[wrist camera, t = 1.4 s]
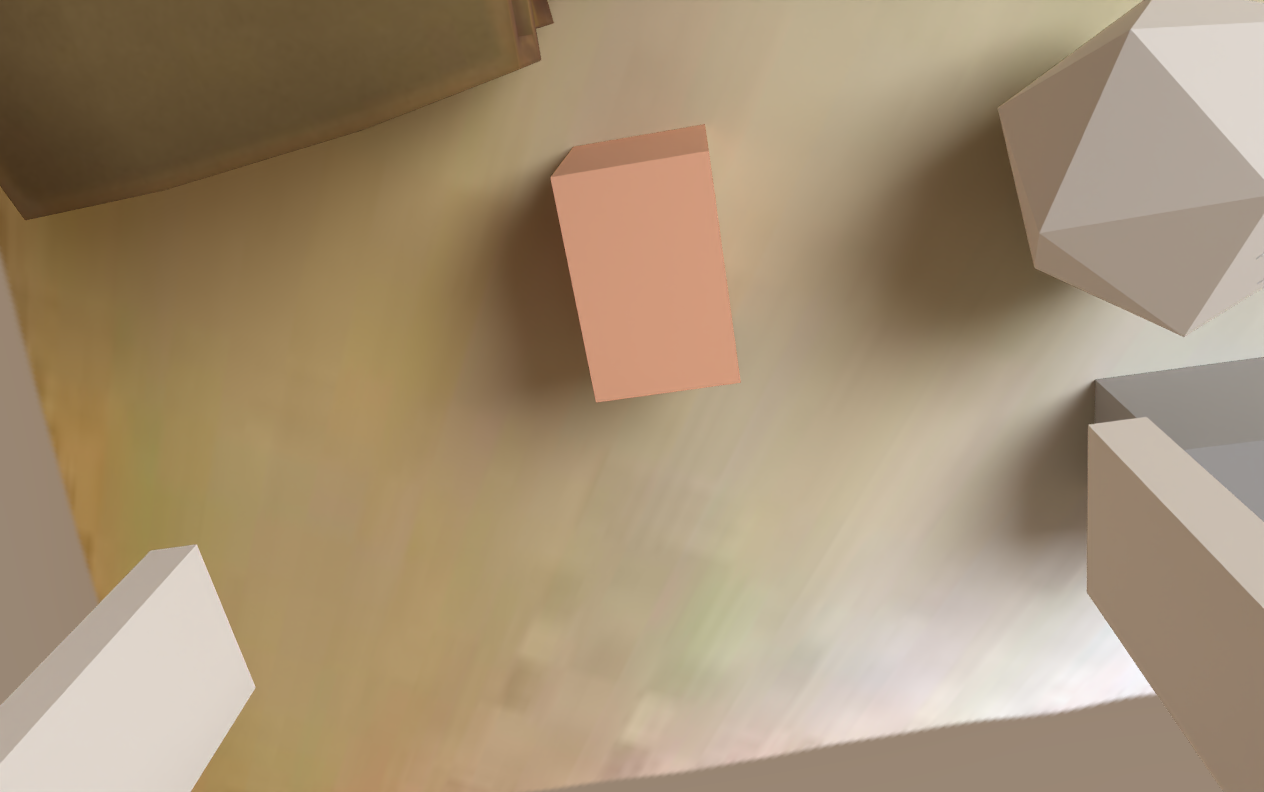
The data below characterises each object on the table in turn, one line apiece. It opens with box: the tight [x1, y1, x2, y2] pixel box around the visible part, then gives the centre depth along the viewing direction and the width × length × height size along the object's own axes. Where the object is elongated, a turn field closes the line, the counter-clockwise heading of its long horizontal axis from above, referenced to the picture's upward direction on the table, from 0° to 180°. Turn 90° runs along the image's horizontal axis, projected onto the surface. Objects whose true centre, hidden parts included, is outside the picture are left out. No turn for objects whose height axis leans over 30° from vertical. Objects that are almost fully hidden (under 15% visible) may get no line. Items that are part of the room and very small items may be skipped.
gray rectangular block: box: [1095, 357, 1264, 522], centre depth 32 cm, size 4×7×6 cm, turn 100°
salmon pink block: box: [550, 124, 741, 402], centre depth 30 cm, size 7×4×6 cm, turn 10°
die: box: [998, 0, 1264, 337], centre depth 26 cm, size 8×9×10 cm
